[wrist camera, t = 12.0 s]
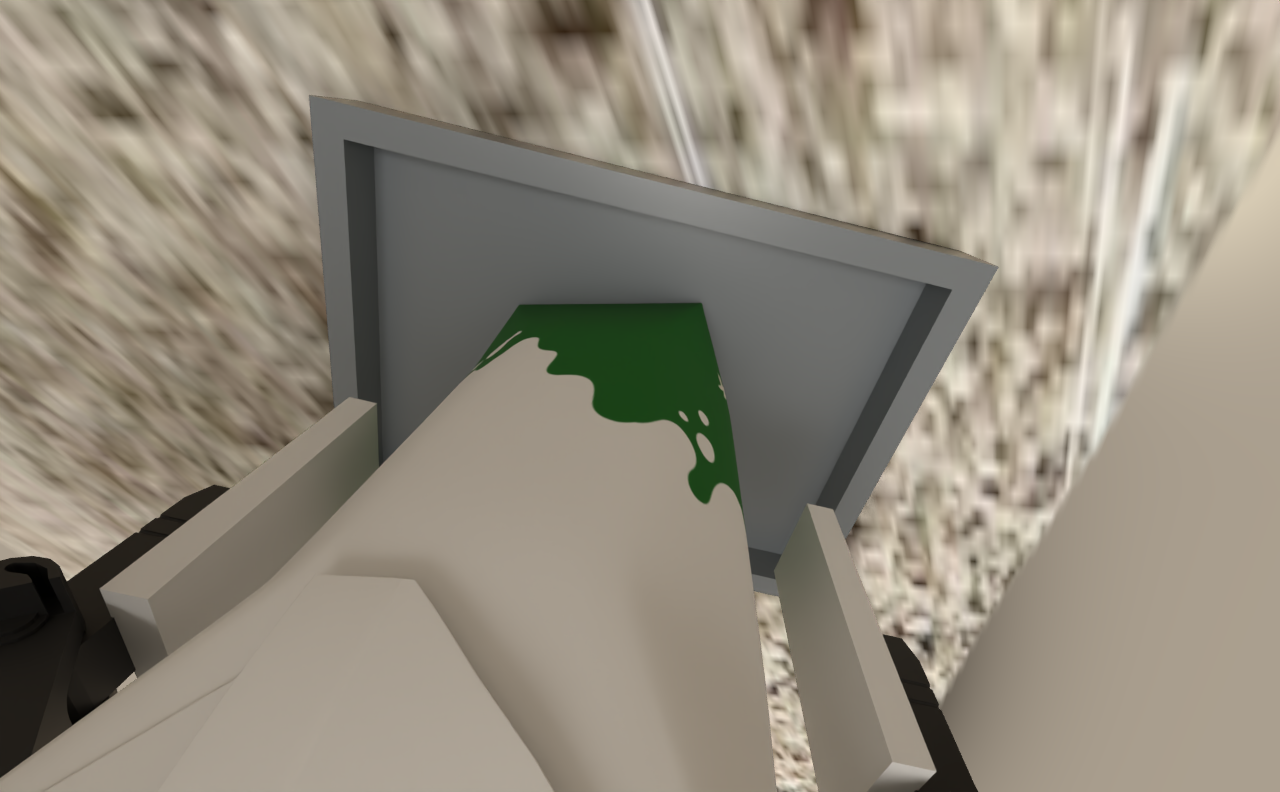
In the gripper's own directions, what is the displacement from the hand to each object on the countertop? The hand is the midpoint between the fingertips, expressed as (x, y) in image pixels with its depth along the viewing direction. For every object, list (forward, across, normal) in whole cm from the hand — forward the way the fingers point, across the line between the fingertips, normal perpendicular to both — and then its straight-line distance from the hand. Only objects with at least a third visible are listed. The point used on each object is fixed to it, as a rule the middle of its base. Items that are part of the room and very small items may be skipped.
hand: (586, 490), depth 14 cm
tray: (+8, 0, 0) cm, 8 cm away
